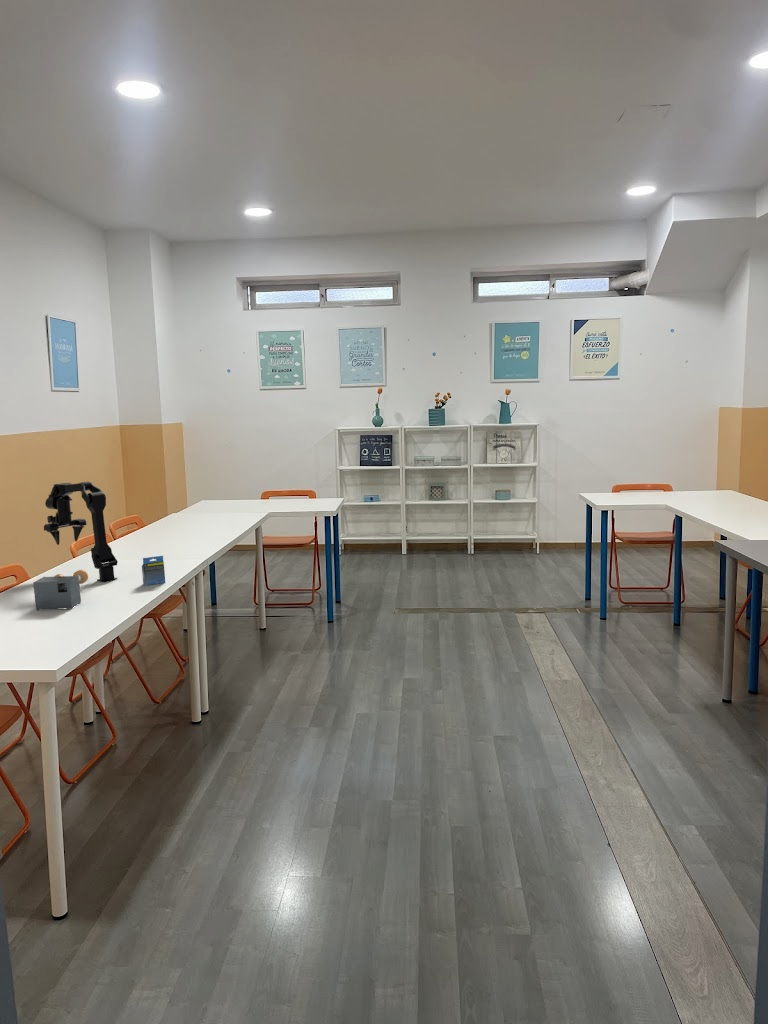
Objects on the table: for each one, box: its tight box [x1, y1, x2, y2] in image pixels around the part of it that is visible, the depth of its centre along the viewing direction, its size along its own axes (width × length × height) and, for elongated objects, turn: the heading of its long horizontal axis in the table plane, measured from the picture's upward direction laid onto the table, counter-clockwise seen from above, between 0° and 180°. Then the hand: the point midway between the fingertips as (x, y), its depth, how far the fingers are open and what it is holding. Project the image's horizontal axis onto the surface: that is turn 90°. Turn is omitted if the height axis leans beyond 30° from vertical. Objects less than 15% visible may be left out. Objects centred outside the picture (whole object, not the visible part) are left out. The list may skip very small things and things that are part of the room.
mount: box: [33, 574, 82, 610], centre depth 296 cm, size 13×14×11 cm
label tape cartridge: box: [141, 555, 166, 586], centre depth 327 cm, size 9×4×12 cm, turn 119°
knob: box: [63, 569, 89, 589], centre depth 300 cm, size 16×6×6 cm, turn 1°
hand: (67, 543), depth 351 cm, fingers open, 9 cm apart
